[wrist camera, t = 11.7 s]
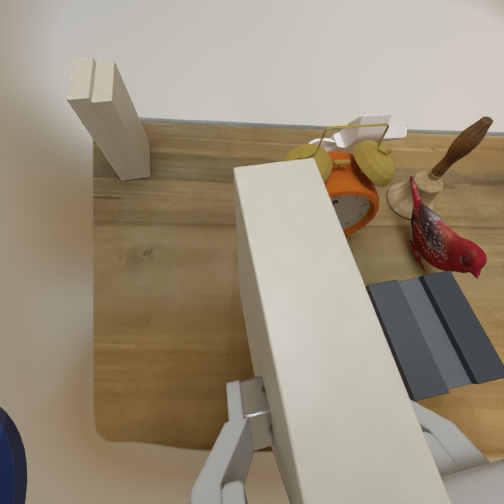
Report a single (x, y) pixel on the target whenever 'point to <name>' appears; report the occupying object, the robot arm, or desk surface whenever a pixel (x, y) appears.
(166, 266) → the desk surface
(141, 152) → the white books
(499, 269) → the desk surface
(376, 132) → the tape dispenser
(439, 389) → the grey books
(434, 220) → the decorative bird figurine
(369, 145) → the alarm clock
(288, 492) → the white book
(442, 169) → the hand bell
